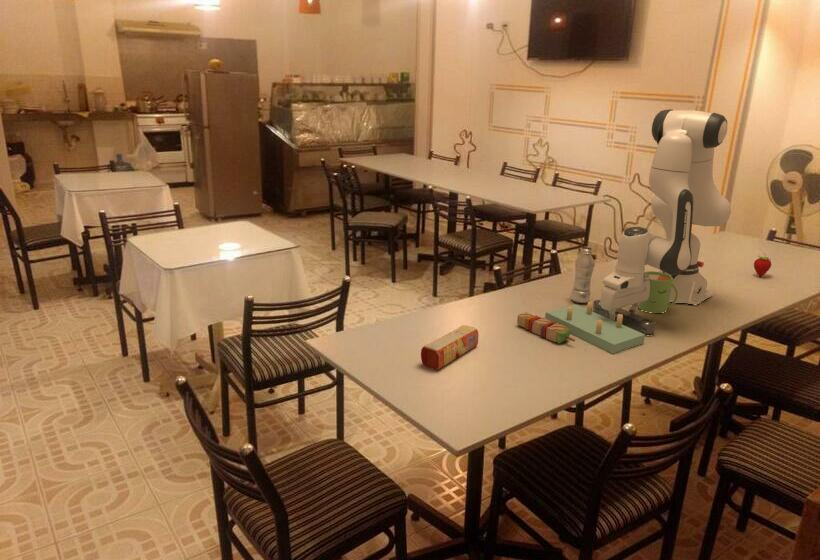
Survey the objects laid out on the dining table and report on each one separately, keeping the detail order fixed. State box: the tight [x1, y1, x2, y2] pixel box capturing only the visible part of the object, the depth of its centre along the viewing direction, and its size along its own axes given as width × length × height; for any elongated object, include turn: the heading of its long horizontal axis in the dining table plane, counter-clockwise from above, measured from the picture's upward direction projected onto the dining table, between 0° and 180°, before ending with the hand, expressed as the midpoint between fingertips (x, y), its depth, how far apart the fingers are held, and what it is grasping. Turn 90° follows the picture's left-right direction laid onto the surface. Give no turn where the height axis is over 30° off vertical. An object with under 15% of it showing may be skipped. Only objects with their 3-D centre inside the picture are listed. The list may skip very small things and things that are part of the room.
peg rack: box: [544, 300, 646, 355], centre depth 191 cm, size 14×28×7 cm, turn 32°
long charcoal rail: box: [592, 299, 656, 336], centre depth 199 cm, size 4×23×4 cm, turn 32°
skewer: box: [516, 311, 576, 344], centre depth 189 cm, size 21×6×5 cm, turn 39°
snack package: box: [420, 324, 479, 371], centre depth 174 cm, size 21×7×7 cm, turn 142°
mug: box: [638, 270, 678, 313], centre depth 210 cm, size 13×10×12 cm
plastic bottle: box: [570, 246, 596, 304], centre depth 213 cm, size 6×7×20 cm
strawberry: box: [753, 253, 772, 277], centre depth 245 cm, size 6×8×10 cm
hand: (622, 317), depth 199 cm, fingers open, 8 cm apart
